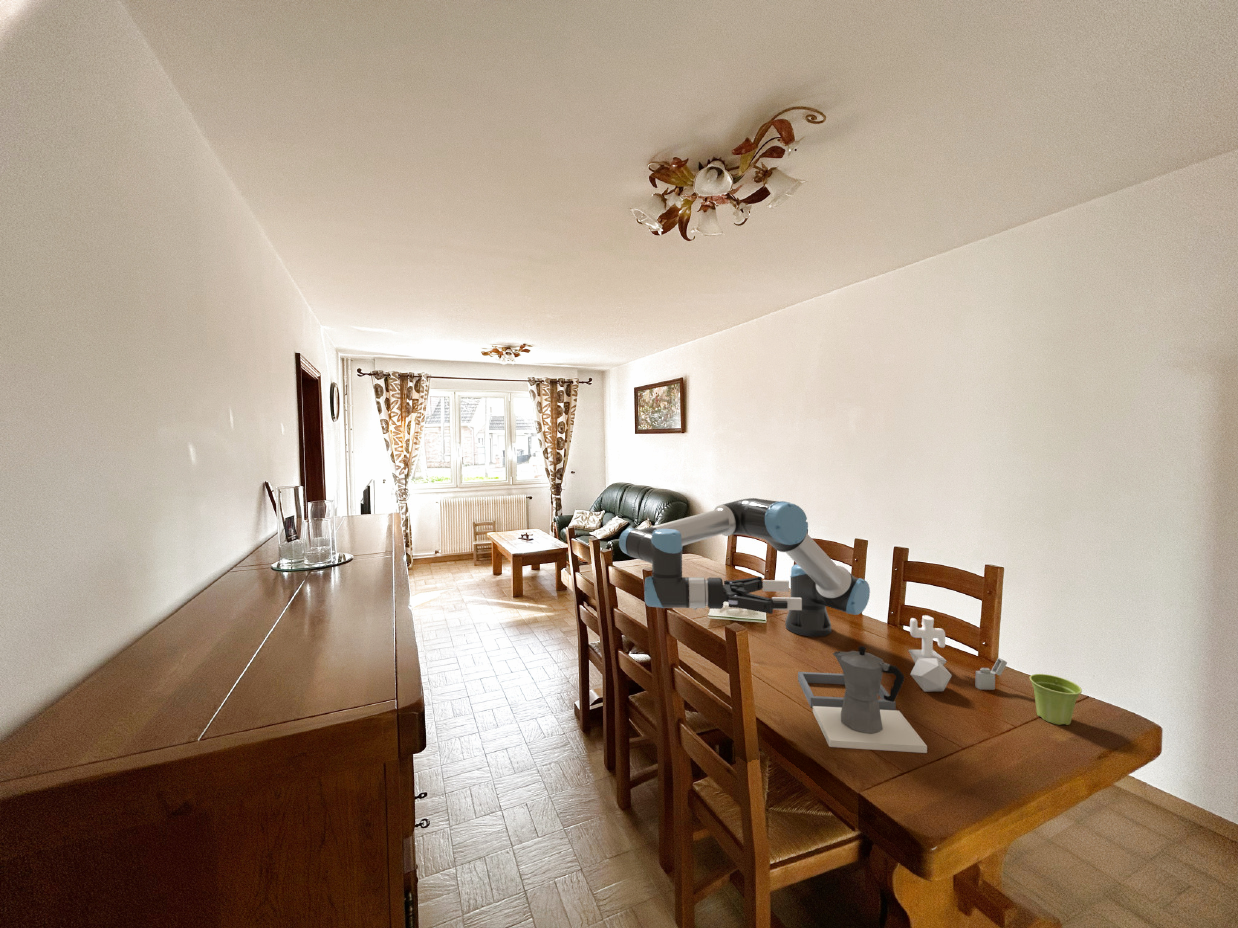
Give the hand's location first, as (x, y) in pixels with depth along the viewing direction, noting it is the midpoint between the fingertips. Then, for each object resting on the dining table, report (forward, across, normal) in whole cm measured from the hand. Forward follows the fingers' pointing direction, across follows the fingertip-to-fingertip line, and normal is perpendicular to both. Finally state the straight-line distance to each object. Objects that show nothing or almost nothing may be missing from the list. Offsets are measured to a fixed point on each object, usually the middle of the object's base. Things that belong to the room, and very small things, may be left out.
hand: (794, 594), depth 122 cm
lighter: (+54, -17, -30) cm, 64 cm away
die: (+38, -15, -30) cm, 51 cm away
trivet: (+14, +7, -30) cm, 34 cm away
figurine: (+43, -28, -30) cm, 60 cm away
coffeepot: (+14, +7, -28) cm, 32 cm away
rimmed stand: (+14, -9, -30) cm, 34 cm away
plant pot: (+60, -3, -30) cm, 67 cm away
